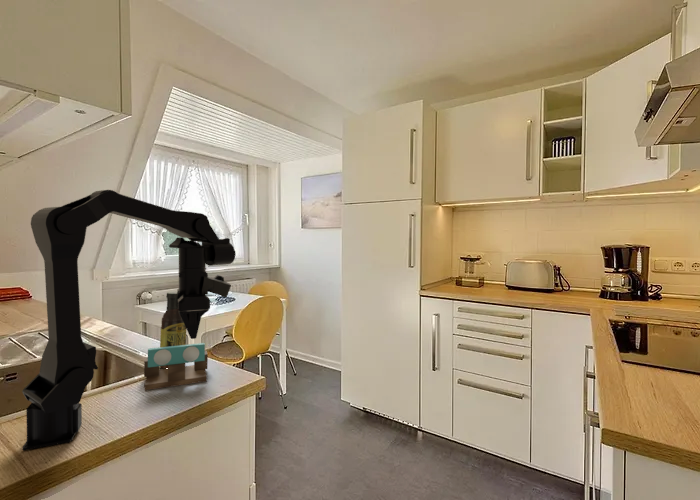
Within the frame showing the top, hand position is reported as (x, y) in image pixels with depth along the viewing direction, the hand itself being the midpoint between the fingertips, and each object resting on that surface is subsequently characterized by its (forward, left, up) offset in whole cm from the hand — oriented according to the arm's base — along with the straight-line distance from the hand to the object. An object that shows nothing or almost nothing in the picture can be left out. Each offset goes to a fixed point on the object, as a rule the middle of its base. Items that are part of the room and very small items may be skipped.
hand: (192, 333), depth 83 cm
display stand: (-3, +5, -12) cm, 14 cm away
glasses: (-3, +5, -7) cm, 9 cm away
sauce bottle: (-4, +15, -13) cm, 20 cm away
